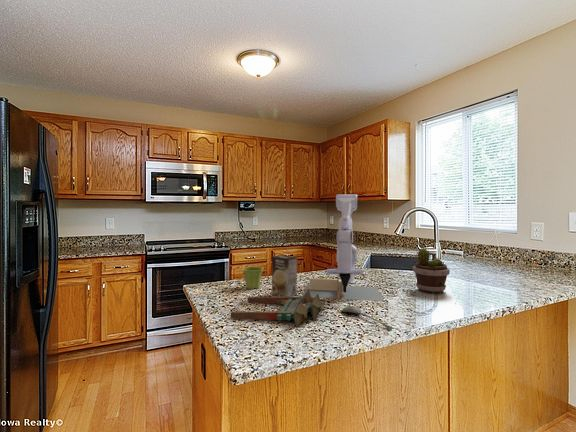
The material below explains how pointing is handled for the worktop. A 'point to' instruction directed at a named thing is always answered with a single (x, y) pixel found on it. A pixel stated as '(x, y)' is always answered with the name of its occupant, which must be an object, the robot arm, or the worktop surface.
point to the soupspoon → (358, 311)
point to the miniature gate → (284, 308)
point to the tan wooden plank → (340, 288)
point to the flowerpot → (430, 273)
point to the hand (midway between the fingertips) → (344, 291)
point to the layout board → (330, 291)
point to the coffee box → (284, 275)
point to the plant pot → (252, 277)
